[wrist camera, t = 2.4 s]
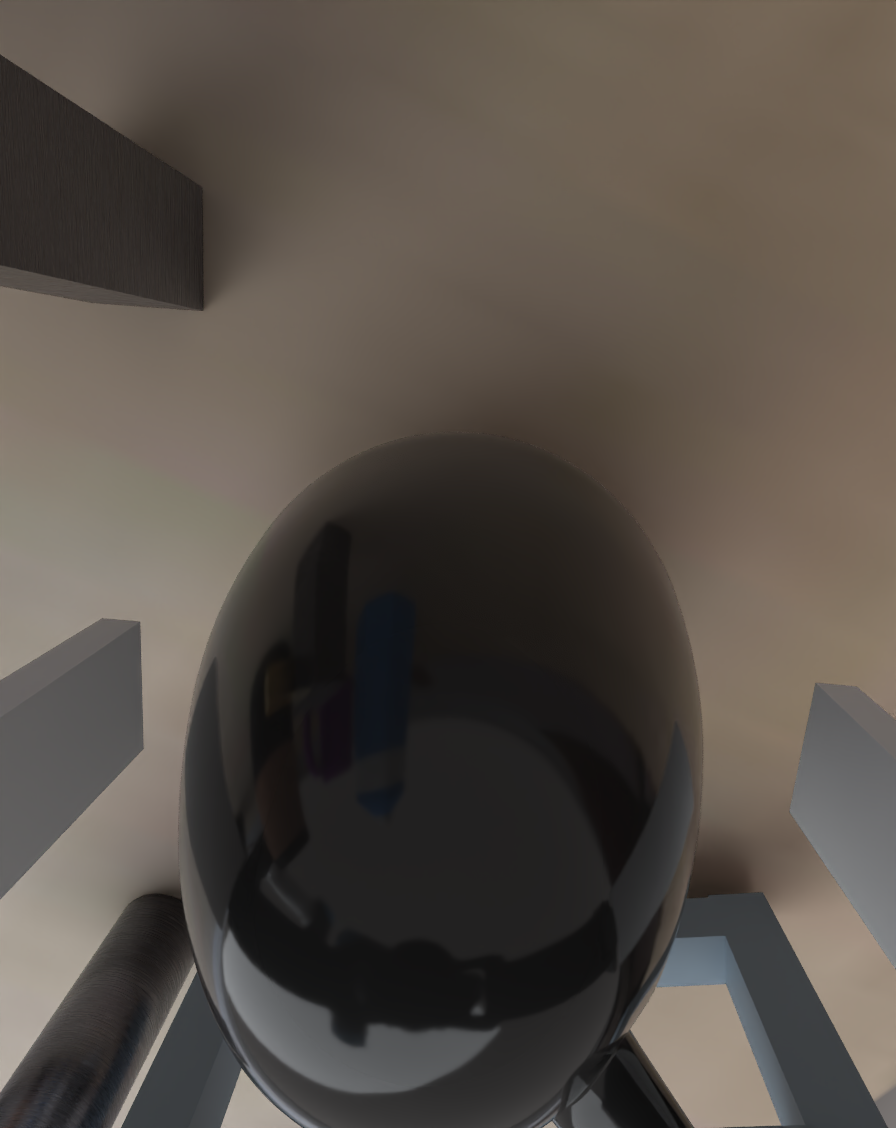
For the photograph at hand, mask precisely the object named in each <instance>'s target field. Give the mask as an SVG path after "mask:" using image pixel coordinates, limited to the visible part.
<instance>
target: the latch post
mask: <svg viewBox="0 0 896 1128" xmlns="http://www.w3.org/2000/svg"><path fill="white" fill-rule="evenodd" d="M0 286H3V287H8V288H14V289H19V290H24V291H30V292H35V293H41V294H46V295H52V296H57V297H63V298H68V299H74V300H79V301H85V302H90V303H101V304H115V305H129V306H143V307H156V308H170V309H184V310H197V311H203V205H202V187H201V186H199V185H198V184H196V183H195V182H193V181H192V180H190V179H189V178H187V177H186V176H184V175H183V174H181V173H180V172H178V171H176V170H175V169H173V168H172V167H170V166H169V165H167V164H166V163H164V162H163V161H161V160H160V159H158V158H157V157H155V156H154V155H152V154H151V153H149V152H148V151H146V150H145V149H143V148H142V147H140V146H138V145H137V144H135V143H134V142H132V141H131V140H129V139H128V138H126V137H125V136H123V135H122V134H120V133H119V132H117V131H116V130H114V129H113V128H111V127H110V126H108V125H107V124H105V123H104V122H102V121H100V120H99V119H97V118H96V117H94V116H93V115H91V114H90V113H88V112H87V111H85V110H84V109H82V108H81V107H79V106H78V105H76V104H75V103H73V102H72V101H70V100H69V99H67V98H66V97H64V96H62V95H61V94H59V93H58V92H56V91H55V90H53V89H52V88H50V87H49V86H47V85H46V84H44V83H43V82H41V81H40V80H38V79H37V78H35V77H34V76H32V75H31V74H29V73H28V72H26V71H24V70H23V69H21V68H20V67H18V66H17V65H15V64H14V63H12V62H11V61H9V60H8V59H6V58H5V57H3V56H2V55H0Z"/></svg>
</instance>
